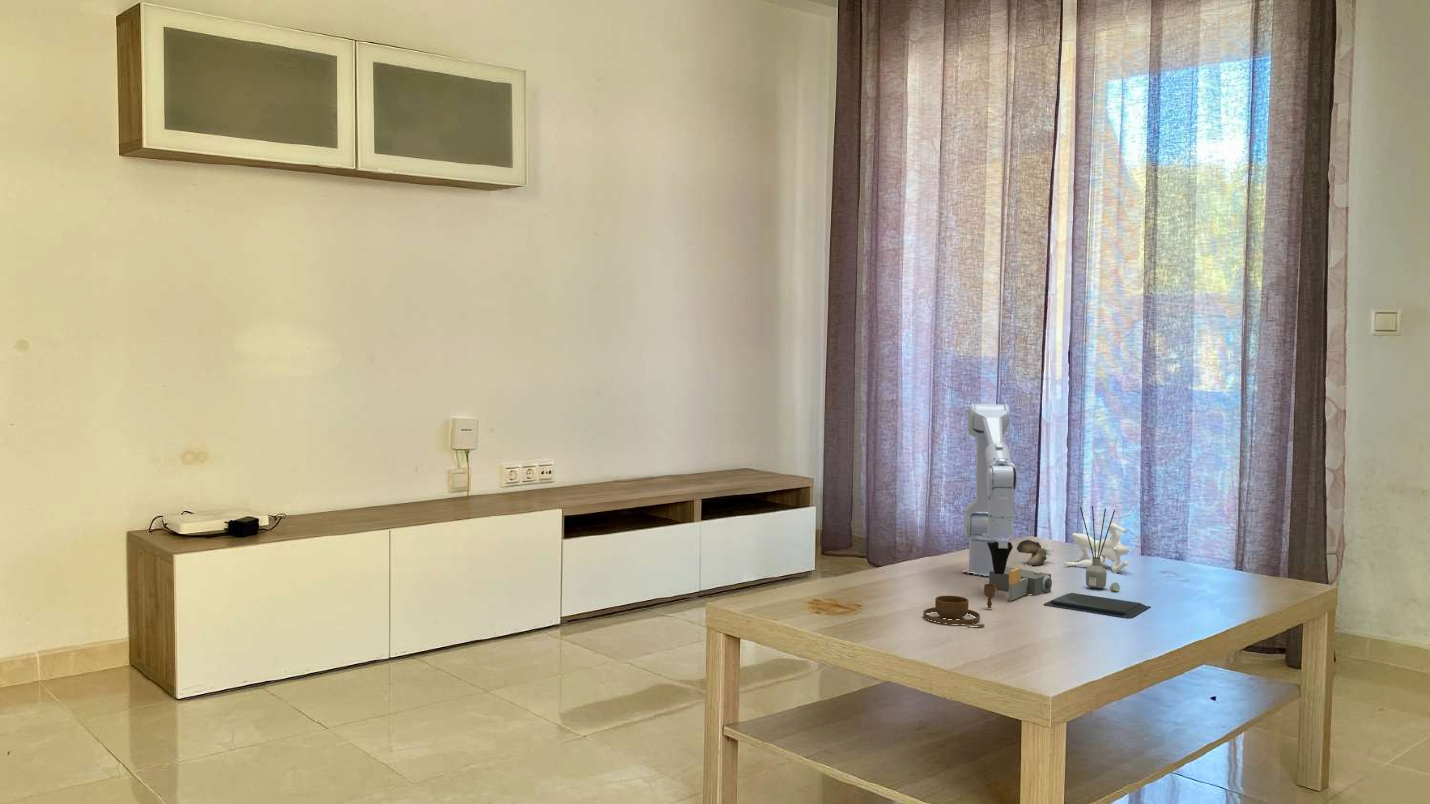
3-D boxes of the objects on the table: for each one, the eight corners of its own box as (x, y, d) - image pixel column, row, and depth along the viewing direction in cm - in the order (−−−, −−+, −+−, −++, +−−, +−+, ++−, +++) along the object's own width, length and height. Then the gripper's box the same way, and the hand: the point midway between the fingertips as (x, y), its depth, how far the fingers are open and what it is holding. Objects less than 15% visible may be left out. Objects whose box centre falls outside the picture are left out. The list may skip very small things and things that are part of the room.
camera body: (1005, 582, 275) (1005, 564, 274) (1053, 591, 266) (1054, 572, 266) (989, 587, 269) (989, 569, 268) (1037, 596, 260) (1038, 577, 260)
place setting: (908, 612, 244) (908, 586, 244) (990, 608, 249) (991, 582, 249) (943, 632, 228) (944, 604, 227) (1031, 628, 232) (1031, 600, 232)
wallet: (1040, 599, 251) (1067, 589, 263) (1040, 607, 251) (1067, 596, 263) (1129, 614, 238) (1153, 602, 250) (1129, 622, 238) (1153, 610, 250)
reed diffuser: (1074, 587, 270) (1076, 506, 269) (1083, 583, 276) (1085, 503, 275) (1116, 593, 264) (1119, 510, 263) (1125, 588, 270) (1127, 507, 269)
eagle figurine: (1025, 554, 307) (1009, 552, 300) (1040, 535, 305) (1025, 532, 298) (1045, 573, 302) (1029, 571, 296) (1060, 553, 300) (1045, 551, 294)
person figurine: (1057, 525, 297) (1125, 520, 287) (1074, 530, 307) (1140, 525, 297) (1060, 574, 294) (1129, 571, 284) (1077, 578, 304) (1144, 575, 294)
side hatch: (1007, 599, 254) (1008, 571, 254) (1023, 592, 262) (1024, 564, 262) (1012, 600, 254) (1013, 571, 253) (1028, 593, 261) (1028, 565, 261)
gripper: (980, 511, 269) (978, 566, 269) (985, 520, 254) (984, 579, 255) (1010, 512, 268) (1008, 567, 268) (1017, 521, 253) (1016, 580, 254)
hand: (999, 573), depth 262 cm, fingers closed
